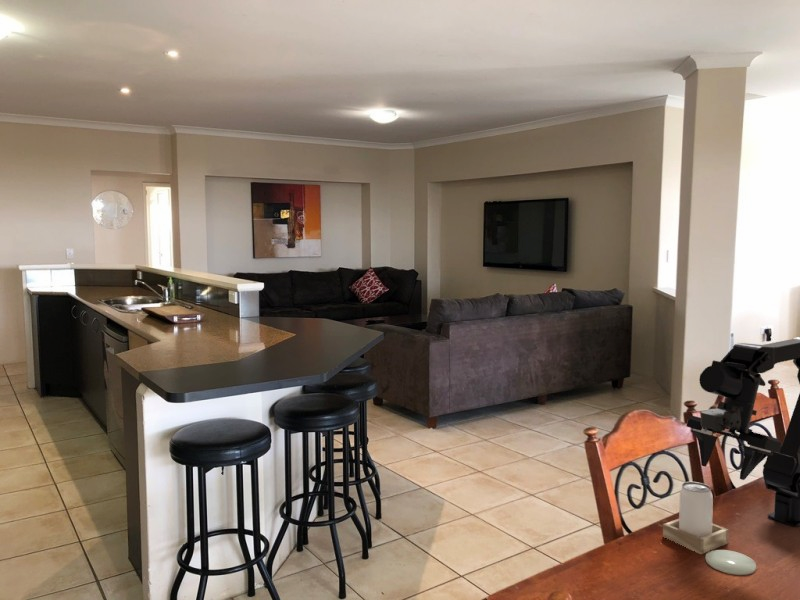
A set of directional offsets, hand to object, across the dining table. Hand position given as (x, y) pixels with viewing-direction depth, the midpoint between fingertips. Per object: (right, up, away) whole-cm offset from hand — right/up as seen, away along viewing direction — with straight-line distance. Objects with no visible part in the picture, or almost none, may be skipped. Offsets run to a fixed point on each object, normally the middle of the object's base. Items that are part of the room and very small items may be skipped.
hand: (722, 472), depth 138 cm
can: (-5, -15, +2) cm, 16 cm away
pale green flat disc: (-2, -16, -8) cm, 18 cm away
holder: (-5, -15, +2) cm, 16 cm away
